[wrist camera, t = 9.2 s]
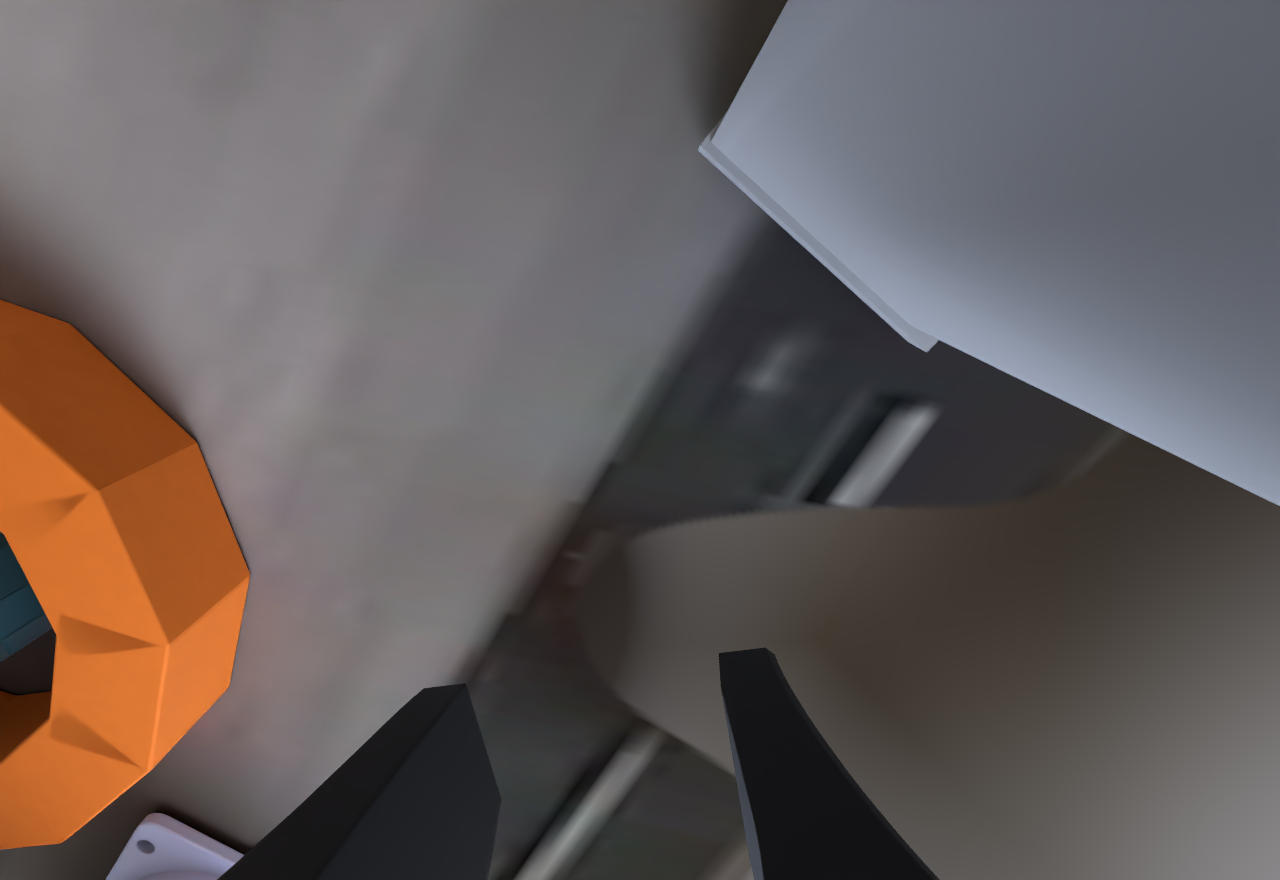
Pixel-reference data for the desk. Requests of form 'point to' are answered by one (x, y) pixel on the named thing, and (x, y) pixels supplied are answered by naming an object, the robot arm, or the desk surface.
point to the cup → (17, 606)
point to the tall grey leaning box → (1045, 195)
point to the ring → (105, 578)
